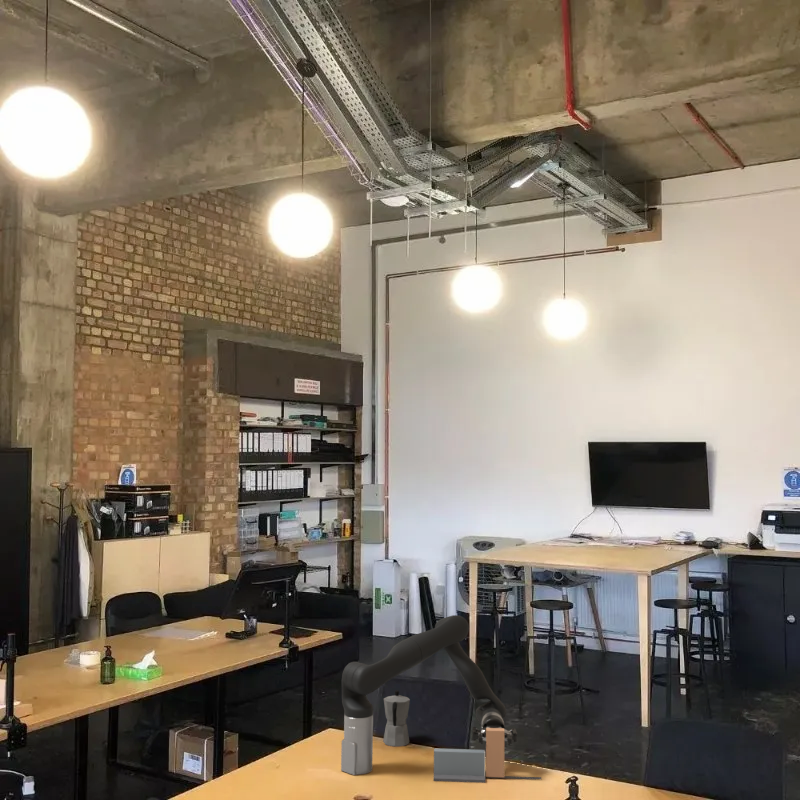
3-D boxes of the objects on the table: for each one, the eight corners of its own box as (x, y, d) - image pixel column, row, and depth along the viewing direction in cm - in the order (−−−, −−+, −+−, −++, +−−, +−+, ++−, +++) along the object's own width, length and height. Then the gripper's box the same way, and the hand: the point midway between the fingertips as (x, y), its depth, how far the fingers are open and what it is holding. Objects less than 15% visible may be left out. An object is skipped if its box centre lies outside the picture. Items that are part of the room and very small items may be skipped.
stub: (486, 776, 267) (486, 730, 268) (485, 773, 270) (486, 727, 271) (504, 777, 267) (504, 731, 268) (503, 774, 270) (503, 728, 271)
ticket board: (433, 781, 265) (433, 755, 265) (434, 769, 275) (434, 744, 275) (542, 784, 263) (542, 758, 263) (539, 773, 273) (539, 748, 273)
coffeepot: (385, 736, 309) (385, 685, 311) (411, 737, 308) (411, 686, 310) (380, 750, 294) (380, 696, 295) (407, 751, 293) (408, 697, 294)
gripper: (471, 714, 284) (472, 728, 268) (514, 715, 284) (518, 729, 267) (471, 737, 284) (472, 753, 268) (514, 738, 283) (518, 754, 267)
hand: (495, 741), depth 268 cm, fingers open, 8 cm apart
